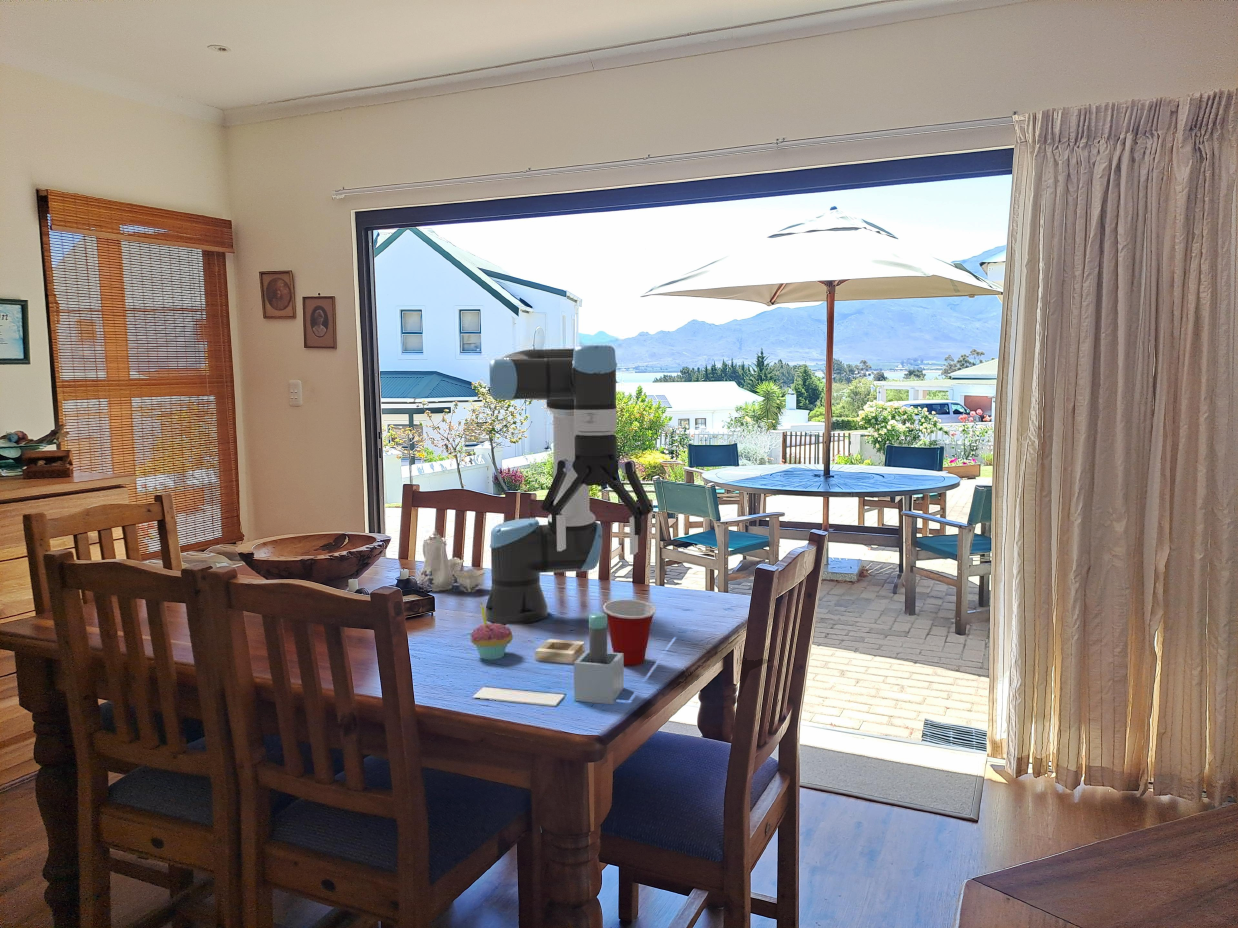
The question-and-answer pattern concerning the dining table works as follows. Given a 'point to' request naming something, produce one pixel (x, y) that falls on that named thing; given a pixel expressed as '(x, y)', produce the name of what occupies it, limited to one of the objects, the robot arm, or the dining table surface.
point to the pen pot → (598, 678)
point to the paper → (519, 696)
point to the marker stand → (560, 651)
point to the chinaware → (445, 568)
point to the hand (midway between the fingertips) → (597, 551)
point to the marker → (598, 638)
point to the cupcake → (491, 638)
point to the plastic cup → (629, 628)
